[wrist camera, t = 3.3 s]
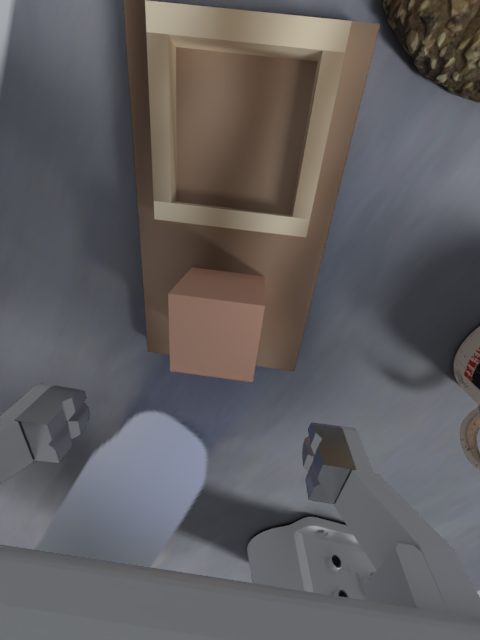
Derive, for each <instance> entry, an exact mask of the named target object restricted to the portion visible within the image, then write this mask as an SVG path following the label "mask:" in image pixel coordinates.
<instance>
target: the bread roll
mask: <svg viewBox="0 0 480 640" xmlns="http://www.w3.org/2000/svg"><path fill="white" fill-rule="evenodd" d="M383 8H384V10H385V12H386V16H387V22H388V24H389V25H390V26H391V28H392V29H393V31H394V33H395V34H396V36H397V38H398V39H399V41H400V43H401V44H402V46H403V48H404V50H405V51H406V52H407V53H408V54H409V55H410V56H411V57H412V58H413V63H414V65H415V66H416V67H417V68H418V71H419V73H420V74H422V75H423V76H425V77H427V78H430V79H432V80H433V81H434V82H435V83H436V84H441V85H442V86H444V87H445V88H447V89H448V90H449V91H450V92H451V93H453V94H454V95H458V96H461V97H464V98H468V99H470V100H473V101H475V102H480V0H383Z"/></svg>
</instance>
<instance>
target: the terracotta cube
mask: <svg viewBox="0 0 480 640" xmlns="http://www.w3.org/2000/svg"><path fill="white" fill-rule="evenodd" d="M168 305H169V347H170V371H173V372H180V373H188V374H195V375H203V376H210V377H218V378H225V379H233V380H240V381H248V382H253V377H254V371H255V365H256V359H257V353H258V346H259V340H260V334H261V328H262V322H263V315H264V309H265V276H258V275H250V274H241V273H233V272H225V271H217V270H209V269H201V268H193V267H192V268H191V269H190V270H189V271H188V272H187V273H186V274H185V276H184V277H183V278H182V279H181V280H180V281H179V282H178V283H177V284H176V286H175V287H174V288H173V289H172V290H171V291H170V292H169V293H168Z"/></svg>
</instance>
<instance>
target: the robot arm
mask: <svg viewBox="0 0 480 640" xmlns="http://www.w3.org/2000/svg"><path fill="white" fill-rule="evenodd" d="M86 398H87V397H86V394H85V391H83V390H79V389H73V388H67V387H61V386H54V385H48V384H42V383H41V384H38V385H35V386H34V387H33V388H32V389H31V390H30V391H28V392H27V393H26V394H25V395H24V396H23V397H22V398H20V399H19V400H18V401H17V402H16V403H15V404H14V405H12V406H11V407H10V408H9V409H8V410H7V411H5V412H4V413H3V414H2V415H1V416H0V484H1V483H3V482H4V481H6V480H7V479H9V478H10V477H12V476H13V475H15V474H16V473H18V472H19V471H21V470H22V469H23V468H25V467H26V466H28V465H29V464H31V463H32V462H33V460H37V461H45V462H54V463H60V461H61V460H62V459H63V457H64V456H65V455H66V453H67V452H68V451H69V449H70V448H71V447H72V439H73V438H75V437H77V436H78V435H80V434H81V433H82V432H83V430H84V429H85V427H86V425H87V422H88V420H89V413H90V412H89V407H88V406H87V405H86V404H85V403H84V401H85V400H86ZM308 433H309V436H308V437H306V438H305V440H304V444H303V451H302V458H303V466H304V468H305V469H306V470H307V472H308V474H307V476H306V479H305V480H306V486H307V493H308V499H309V500H312V501H318V502H324V503H329V504H335V505H334V506H335V508H336V509H337V511H338V512H339V514H340V516H341V517H342V519H343V520H344V522H345V523H346V525H343V524H339V523H336V522H332V521H328V520H324V519H320V518H317V517H306V518H303V519H300V520H298V521H296V522H295V523H293V524H290V525H287V526H282V527H277V528H273V529H269V530H266V531H264V532H262V533H260V534H258V535H256V536H255V537H254V538H253V539H252V540H251V541H250V542H249V544H248V546H247V554H248V559H249V564H250V570H251V578H252V583H248V582H242V581H235V580H229V579H222V578H216V577H209V576H203V575H196V574H189V573H183V572H176V571H170V570H163V569H157V568H150V567H143V566H137V565H131V564H124V563H117V562H111V561H104V560H98V559H91V558H85V557H78V556H72V555H64V554H58V553H52V552H45V551H39V550H32V549H26V548H19V547H12V546H6V545H0V640H480V597H479V595H478V594H477V592H476V590H475V588H474V586H473V584H472V582H471V580H470V578H469V577H468V575H467V573H466V571H465V569H464V567H463V565H462V563H461V561H460V560H459V558H458V556H457V554H456V552H455V550H454V549H453V548H452V547H451V546H450V545H449V544H448V543H447V542H446V541H445V540H444V539H443V538H442V537H441V536H440V535H439V534H438V533H437V532H436V531H435V530H434V529H433V528H432V527H431V526H430V525H429V524H428V523H427V522H426V521H425V520H424V519H423V518H422V517H421V516H420V515H419V514H418V513H417V512H416V511H415V510H414V509H413V508H412V507H411V506H410V505H409V504H408V503H407V502H406V501H405V500H404V499H403V498H402V497H401V496H400V495H399V494H398V493H397V492H396V491H395V490H394V489H393V488H392V487H391V486H390V485H389V484H388V483H387V482H386V481H385V480H384V479H383V478H382V477H381V476H380V475H379V474H376V473H374V472H373V470H372V467H371V465H370V462H369V459H368V457H367V454H366V452H365V449H364V447H363V444H362V442H361V439H360V437H359V434H358V432H357V430H356V429H355V428H349V427H341V426H340V427H339V426H334V425H327V424H319V423H311V424H310V425H309V428H308Z"/></svg>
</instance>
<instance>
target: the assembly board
mask: <svg viewBox="0 0 480 640" xmlns="http://www.w3.org/2000/svg"><path fill="white" fill-rule="evenodd" d="M123 4H124V18H125V32H126V47H127V61H128V75H129V90H130V104H131V118H132V132H133V147H134V161H135V175H136V190H137V204H138V218H139V233H140V247H141V261H142V276H143V290H144V304H145V319H146V333H147V347H148V352H154V353H162V354H169V355H170V347H169V305H168V293H169V292H170V291H171V290H172V289H173V288H174V287H175V286H176V284H177V283H178V282H179V281H180V280H181V279H182V278H183V277H184V276H185V274H186V273H187V272H188V271H189V270H190V269H191V268H192V267H193V268H201V269H209V270H217V271H225V272H233V273H241V274H250V275H258V276H265V309H264V315H263V322H262V328H261V334H260V340H259V346H258V353H257V359H256V365H255V366H260V367H268V368H275V369H283V370H290V371H294V370H295V366H296V362H297V358H298V353H299V349H300V345H301V341H302V337H303V333H304V329H305V325H306V321H307V317H308V313H309V309H310V305H311V301H312V297H313V293H314V289H315V285H316V281H317V277H318V273H319V269H320V265H321V261H322V257H323V252H324V248H325V244H326V240H327V236H328V232H329V228H330V224H331V220H332V216H333V212H334V208H335V204H336V200H337V196H338V192H339V188H340V184H341V180H342V176H343V172H344V168H345V164H346V160H347V156H348V151H349V147H350V143H351V139H352V135H353V131H354V127H355V123H356V119H357V115H358V111H359V107H360V103H361V99H362V95H363V91H364V87H365V83H366V79H367V75H368V71H369V67H370V63H371V59H372V55H373V50H374V46H375V42H376V38H377V34H378V30H379V26H380V24H377V23H367V22H357V21H347V20H337V19H327V18H317V17H307V16H297V15H287V14H277V13H267V12H257V11H247V10H237V9H227V8H217V7H207V6H197V5H187V4H177V3H168V2H158V1H148V0H123Z"/></svg>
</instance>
